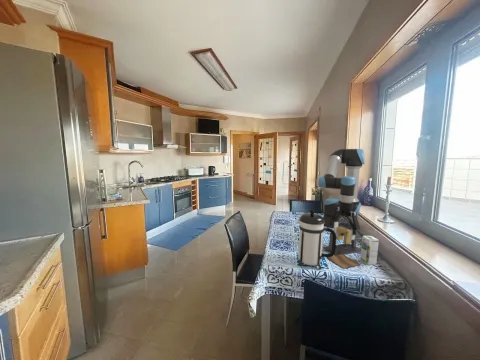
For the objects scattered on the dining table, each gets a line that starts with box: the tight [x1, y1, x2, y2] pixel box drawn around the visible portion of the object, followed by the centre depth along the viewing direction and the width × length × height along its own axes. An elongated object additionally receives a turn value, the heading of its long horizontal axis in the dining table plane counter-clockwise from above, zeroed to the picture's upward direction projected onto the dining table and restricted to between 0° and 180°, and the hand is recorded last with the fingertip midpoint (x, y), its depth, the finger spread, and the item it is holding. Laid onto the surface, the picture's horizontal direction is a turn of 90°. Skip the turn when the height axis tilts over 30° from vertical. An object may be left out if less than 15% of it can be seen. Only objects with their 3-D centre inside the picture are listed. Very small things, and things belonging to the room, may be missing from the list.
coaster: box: [326, 254, 361, 270], centre depth 114 cm, size 12×12×1 cm
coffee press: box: [296, 209, 337, 270], centre depth 110 cm, size 17×16×30 cm
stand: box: [323, 229, 361, 256], centre depth 128 cm, size 20×10×12 cm, turn 109°
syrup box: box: [359, 235, 380, 266], centre depth 113 cm, size 6×6×14 cm
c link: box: [336, 225, 351, 244], centre depth 127 cm, size 4×8×8 cm, turn 19°
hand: (343, 235), depth 127 cm, fingers open, 12 cm apart
